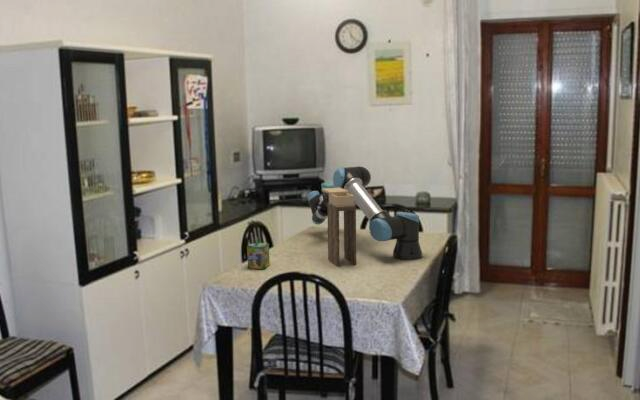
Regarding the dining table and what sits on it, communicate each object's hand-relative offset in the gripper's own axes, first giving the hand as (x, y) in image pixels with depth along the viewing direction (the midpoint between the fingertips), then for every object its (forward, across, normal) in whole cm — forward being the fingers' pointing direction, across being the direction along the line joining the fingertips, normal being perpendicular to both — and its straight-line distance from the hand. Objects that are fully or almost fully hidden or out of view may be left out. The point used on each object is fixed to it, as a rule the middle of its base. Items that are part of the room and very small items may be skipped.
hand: (333, 197), depth 350 cm
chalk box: (+8, +49, -38) cm, 62 cm away
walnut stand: (+14, +7, -41) cm, 44 cm away
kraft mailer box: (+29, +7, -15) cm, 34 cm away
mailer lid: (+19, +7, -3) cm, 20 cm away
